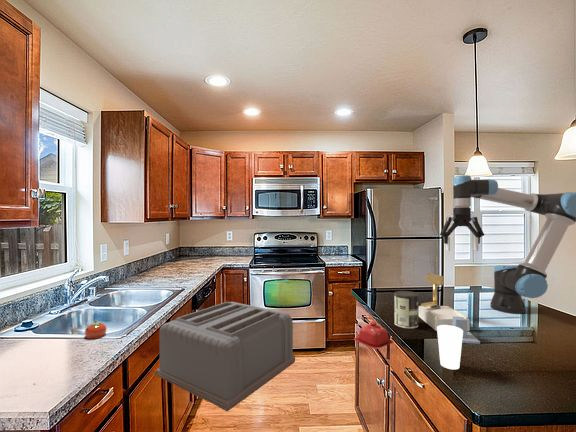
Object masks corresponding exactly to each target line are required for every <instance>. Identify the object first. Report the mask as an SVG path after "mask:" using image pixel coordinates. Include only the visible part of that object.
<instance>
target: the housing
mask: <svg viewBox="0 0 576 432" xmlns="http://www.w3.org/2000/svg"><path fill="white" fill-rule="evenodd" d="M452 316H453V317H464V318H465V319H466V320H467V332H470V323H471V322H470V321H471V320H470V319H469V317H468V316H467V315H465V314H464V313H462V312H460V311H458V309H453V308H452V307H450V306H447V305H439V304H437V306H429V307H423V306H421V305H418V318H420V319H421V320H422V321H423V322H425V323H426V324H427V325H428V326H430V327H431V328H432V329H433V330H434V331H436V332H437V326H439V325H451V326H452Z"/></svg>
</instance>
